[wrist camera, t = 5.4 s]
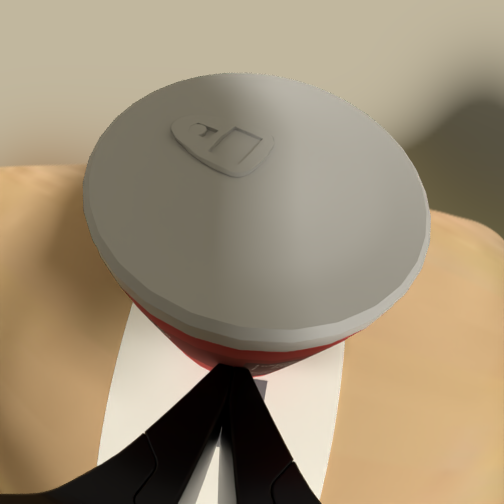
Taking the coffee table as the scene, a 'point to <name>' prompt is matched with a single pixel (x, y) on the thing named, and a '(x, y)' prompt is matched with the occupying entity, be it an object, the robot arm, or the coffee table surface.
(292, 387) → the letter mat
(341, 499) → the coffee table surface
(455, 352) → the coffee table surface
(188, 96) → the canned food
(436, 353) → the coffee table surface
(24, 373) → the coffee table surface
